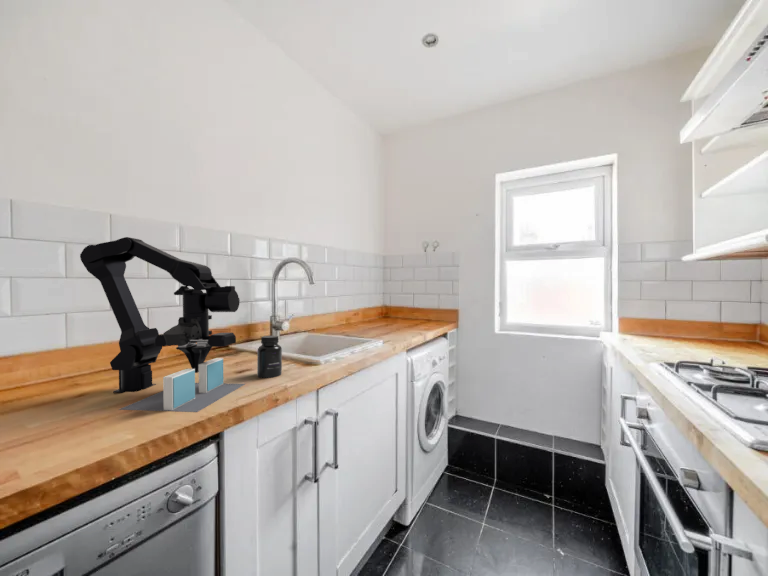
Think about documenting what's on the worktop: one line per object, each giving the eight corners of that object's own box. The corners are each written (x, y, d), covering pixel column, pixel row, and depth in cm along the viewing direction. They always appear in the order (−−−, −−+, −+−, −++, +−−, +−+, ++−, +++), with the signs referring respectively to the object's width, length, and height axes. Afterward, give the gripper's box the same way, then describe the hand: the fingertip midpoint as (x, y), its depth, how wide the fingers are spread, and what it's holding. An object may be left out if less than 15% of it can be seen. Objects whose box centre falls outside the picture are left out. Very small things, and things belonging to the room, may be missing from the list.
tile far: (198, 392, 78) (198, 364, 78) (216, 383, 85) (216, 357, 85) (207, 392, 78) (206, 364, 78) (224, 384, 85) (223, 358, 85)
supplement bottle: (274, 380, 89) (273, 338, 89) (252, 379, 91) (252, 338, 91) (286, 374, 96) (285, 335, 96) (266, 373, 97) (265, 334, 97)
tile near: (163, 409, 67) (163, 377, 67) (187, 398, 74) (186, 368, 74) (173, 410, 67) (172, 377, 67) (195, 398, 74) (195, 368, 74)
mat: (118, 412, 67) (118, 409, 67) (183, 384, 86) (183, 382, 86) (197, 414, 66) (197, 411, 66) (245, 386, 85) (245, 383, 85)
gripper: (135, 315, 75) (136, 381, 75) (209, 315, 73) (210, 382, 73) (171, 311, 86) (172, 368, 86) (236, 311, 84) (237, 369, 84)
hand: (196, 372), depth 82 cm, fingers closed
